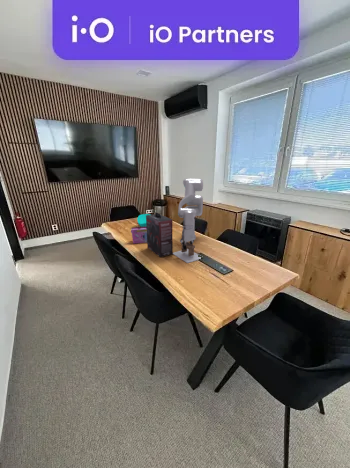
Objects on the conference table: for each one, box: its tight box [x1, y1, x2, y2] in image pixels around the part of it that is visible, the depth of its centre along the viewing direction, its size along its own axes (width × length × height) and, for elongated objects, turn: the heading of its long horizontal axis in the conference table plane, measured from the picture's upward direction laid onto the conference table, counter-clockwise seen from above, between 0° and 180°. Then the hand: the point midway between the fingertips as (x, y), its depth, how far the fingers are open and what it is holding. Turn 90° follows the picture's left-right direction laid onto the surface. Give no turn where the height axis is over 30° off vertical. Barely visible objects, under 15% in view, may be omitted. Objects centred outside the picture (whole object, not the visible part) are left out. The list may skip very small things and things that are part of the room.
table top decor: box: [136, 213, 152, 227], centre depth 230 cm, size 40×28×13 cm
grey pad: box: [172, 249, 202, 264], centre depth 164 cm, size 21×16×1 cm
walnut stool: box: [180, 241, 196, 256], centre depth 162 cm, size 6×11×8 cm, turn 34°
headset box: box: [146, 211, 174, 258], centre depth 168 cm, size 25×12×33 cm, turn 32°
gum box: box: [130, 226, 147, 245], centre depth 192 cm, size 24×8×14 cm, turn 105°
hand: (187, 248), depth 162 cm, fingers closed on walnut stool, 5 cm apart
